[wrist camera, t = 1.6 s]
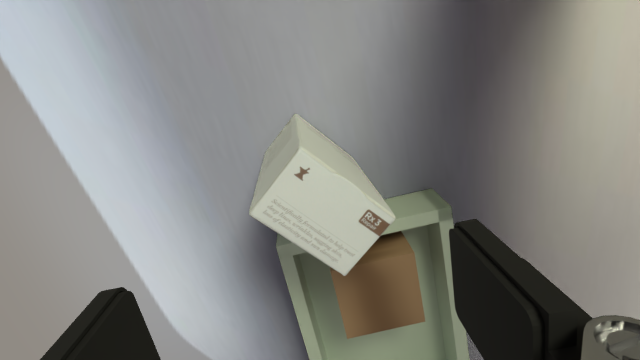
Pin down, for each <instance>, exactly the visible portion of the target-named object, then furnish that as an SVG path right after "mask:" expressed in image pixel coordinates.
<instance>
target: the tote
mask: <svg viewBox="0 0 640 360" xmlns="http://www.w3.org/2000/svg"><path fill="white" fill-rule="evenodd" d="M384 201H385V202H386V203H387V205H388V206H389V208H390V209H391V211H392V212H393V213H394V215H395V217H396V218H395V221H394V222H393V223H392V224H391V225H390V226H389V227H388V228H387V229H386V230H385V232H384V233H383V234H382V235H385V234H389V233H393V232H398V231H402V233H403V235H404V236H405V238H406V240H407V241H408V243H409V245H410V246H411V248H412V249H413V251H414V253H415V260H416V266H417V272H418V278H419V285H420V291H421V297H422V303H423V310H424V316H425V322H421V323H417V324H412V325H408V326H403V327H399V328H394V329H390V330H385V331H381V332H376V333H372V334H367V335H363V336H359V337H354V338H350V339H347V336H346V332H345V328H344V324H343V320H342V316H341V312H340V308H339V304H338V300H337V296H336V292H335V288H334V284H333V280H332V276H331V272H330V266H328V265H327V264H325V263H323V262H322V261H320V260H319V259H317V258H316V257H314V256H313V255H311V254H309V253H308V252H306V251H305V250H303V249H302V248H300V247H298V246H297V245H295V244H294V243H292V242H291V241H289V240H287V239H286V238H284V237H283V236H281V235H280V234H277V242H276V249H277V252H278V256H279V259H280V263H281V266H282V269H283V273H284V276H285V279H286V283H287V286H288V289H289V293H290V296H291V299H292V303H293V306H294V310H295V313H296V316H297V320H298V323H299V326H300V330H301V333H302V336H303V340H304V343H305V346H306V350H307V353H308V357H309V360H469V352H468V344H467V335H466V330H465V328H464V326H463V325H462V323H461V322H460V320H459V318H458V316H457V313H456V310H455V303H454V291H453V279H452V266H451V254H450V241H449V230H450V229H452V228H454V225H453V217H452V208H451V206H450V205H449V204H448V203H447V202H446V201H445V200H444V199H443V198H442V197H441V196H439V195H438V194H437V193H436V192H435V191H434V190H433V189H432V188H431V189H427V190H423V191H418V192H414V193H409V194H405V195H401V196H396V197H392V198H388V199H384Z"/></svg>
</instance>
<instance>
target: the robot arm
mask: <svg viewBox="0 0 640 360" xmlns="http://www.w3.org/2000/svg"><path fill="white" fill-rule="evenodd" d="M449 241H450V254H451V266H452V279H453V291H454V303H455V310H456V313H457V316H458V318H459V320H460V322H461V323H462V325H463V326H464V328H465V330H466V331H467V333H468V334H469V336H470V338H471V339H472V341H473V342H474V344H475V346H476V347H477V349H478V350H479V352H480V354H481V355H482V357H483V359H484V360H640V320H637V319H634V318H631V317H624V316H617V315H611V316H600V317H597V318H592V317H591V316H589V315H588V314H587V313H586V312H585V311H584V310H583V309H581V308H580V307H579V306H578V305H577V304H576V303H574V302H573V301H572V300H571V299H570V298H569V297H568V296H566V295H565V294H564V293H563V292H562V291H561V290H560V289H558V288H557V287H556V286H555V285H554V284H553V283H551V282H550V281H549V280H548V279H547V278H546V277H545V276H543V275H542V274H541V273H540V272H539V271H538V270H537V269H535V268H534V267H533V266H532V265H531V264H530V263H528V262H527V261H526V260H524V259H523V258H520V257H519V256H518V255H517V254H516V253H515V252H513V251H512V250H511V249H510V248H509V247H508V246H507V245H505V244H504V243H503V242H502V241H501V240H500V239H499V238H498V237H496V236H495V235H494V234H493V233H492V232H491V231H490V230H488V229H487V228H486V227H485V226H484V225H483V224H482V223H480V222H479V221H478V220H477V219H473V220H467V221H462V222H457V223H455V225H454V228H452V229H450V230H449ZM40 360H160V357H159V354H158V352H157V350H156V347H155V345H154V342H153V340H152V338H151V335H150V333H149V331H148V328H147V326H146V323H145V321H144V318H143V316H142V314H141V311H140V309H139V306H138V304H137V302H136V299H135V297H134V295H133V293H132V292H131V291H127V290H126V289H125V288H123V287H120V288H116V289H110V290H105V291H101V292H100V293H98V294H97V296H96V297H95V298H94V299H93V300H92V301H91V303H90V304H89V305H88V306H87V307H86V308H85V310H84V311H83V312H82V313H81V314H80V315H79V316H78V317H77V318H76V319H75V321H74V322H73V323H72V324H71V325H70V326H69V328H68V329H67V330H66V331H65V332H64V333H63V334H62V335H61V336H60V338H59V339H58V340H57V341H56V342H55V343H54V345H53V346H52V347H51V348H50V349H49V350H48V351H47V352H46V354H45V355H44V356H43V357H42V358H41V359H40Z"/></svg>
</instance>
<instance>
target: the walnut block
mask: <svg viewBox="0 0 640 360" xmlns="http://www.w3.org/2000/svg"><path fill="white" fill-rule="evenodd" d="M330 272H331V276H332V280H333V284H334V288H335V292H336V296H337V300H338V304H339V308H340V312H341V316H342V320H343V324H344V328H345V332H346V336H347V339H350V338H354V337H359V336H363V335H367V334H372V333H376V332H381V331H385V330H390V329H394V328H399V327H403V326H408V325H412V324H417V323H421V322H425V316H424V310H423V303H422V297H421V291H420V285H419V278H418V272H417V266H416V260H415V253H414V251H413V249H412V248H411V246H410V245H409V243H408V241H407V240H406V238H405V236H404V235H403V233H402V231H398V232H393V233H389V234H385V235H381V236H380V237H379V238H378V239H377V241H376V242H375V243H374V244H373V245H372V246H371V247H370V248H369V250H368V251H367V252H366V253H365V254H364V255H363V256H362V257H361V259H360V260H359V261H358V262H357V263H356V264H355V266H354V267H353V268H352V269H351V270H350V271H349V273H348V274H347V275H346V276H343V275H342V274H341V273H339V272H338V271H336V270H334V269H333V268H331V267H330Z"/></svg>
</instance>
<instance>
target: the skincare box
mask: <svg viewBox="0 0 640 360" xmlns="http://www.w3.org/2000/svg"><path fill="white" fill-rule="evenodd" d="M249 215H250V216H251V217H253V218H254V219H256V220H258V221H259V222H261V223H262V224H264V225H266V226H267V227H269V228H270V229H272V230H273V231H275V232H277V233H278V234H280V235H281V236H283V237H284V238H286V239H287V240H289V241H291V242H292V243H294V244H295V245H297V246H298V247H300V248H302V249H303V250H305V251H306V252H308V253H309V254H311V255H313V256H314V257H316V258H317V259H319V260H320V261H322V262H323V263H325V264H327V265H328V266H330V267H331V268H333V269H334V270H336V271H338V272H339V273H341V274H342V275H343V276H346V275H347V274H348V273H349V271H350V270H351V269H352V268H353V267H354V266H355V264H356V263H357V262H358V261H359V260H360V259H361V257H362V256H363V255H364V254H365V253H366V252H367V251H368V250H369V248H370V247H371V246H372V245H373V244H374V243H375V242H376V241H377V239H378V238H379V237H380V236H381V235H382V234H383V233H384V232H385V230H386V229H387V228H388V227H389V226H390V225H391V224H392V223H393V222H394V221H395V218H396V217H395V215H394V213H393V212H392V211H391V209H390V208H389V206H388V205H387V203H386V202H385V201H384V199H383V198H382V197H381V195H380V194H379V193H378V191H377V190H376V188H375V187H374V186H373V184H372V183H371V182H370V180H369V179H368V178H367V176H366V175H365V174H364V172H363V171H362V170H361V168H360V167H359V165H358V164H357V163H356V161H355V160H354V159H353V158H352V157H351V156H350V155H349V154H347V153H346V152H345V151H344V150H342V149H341V148H340V147H339V146H337V145H336V144H335V143H333V142H332V141H331V140H330V139H328V138H327V137H326V136H324V135H323V134H322V133H321V132H319V131H318V130H317V129H315V128H314V127H313V126H312V125H310V124H309V123H308V122H306V121H305V120H304V119H303V118H301V117H300V116H299V115H297V114H294V115H293V117H292V118H291V119H290V121H289V122H288V123H287V124H286V126H285V127H284V128H283V130H282V131H281V132H280V134H279V135H278V136H277V137H276V139H275V140H274V141H273V143H272V144H271V145H270V147H269V148H268V150H267V151H266V152H265V155H264V160H263V163H262V167H261V170H260V174H259V177H258V181H257V185H256V188H255V192H254V196H253V200H252V203H251V206H250V210H249Z"/></svg>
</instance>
